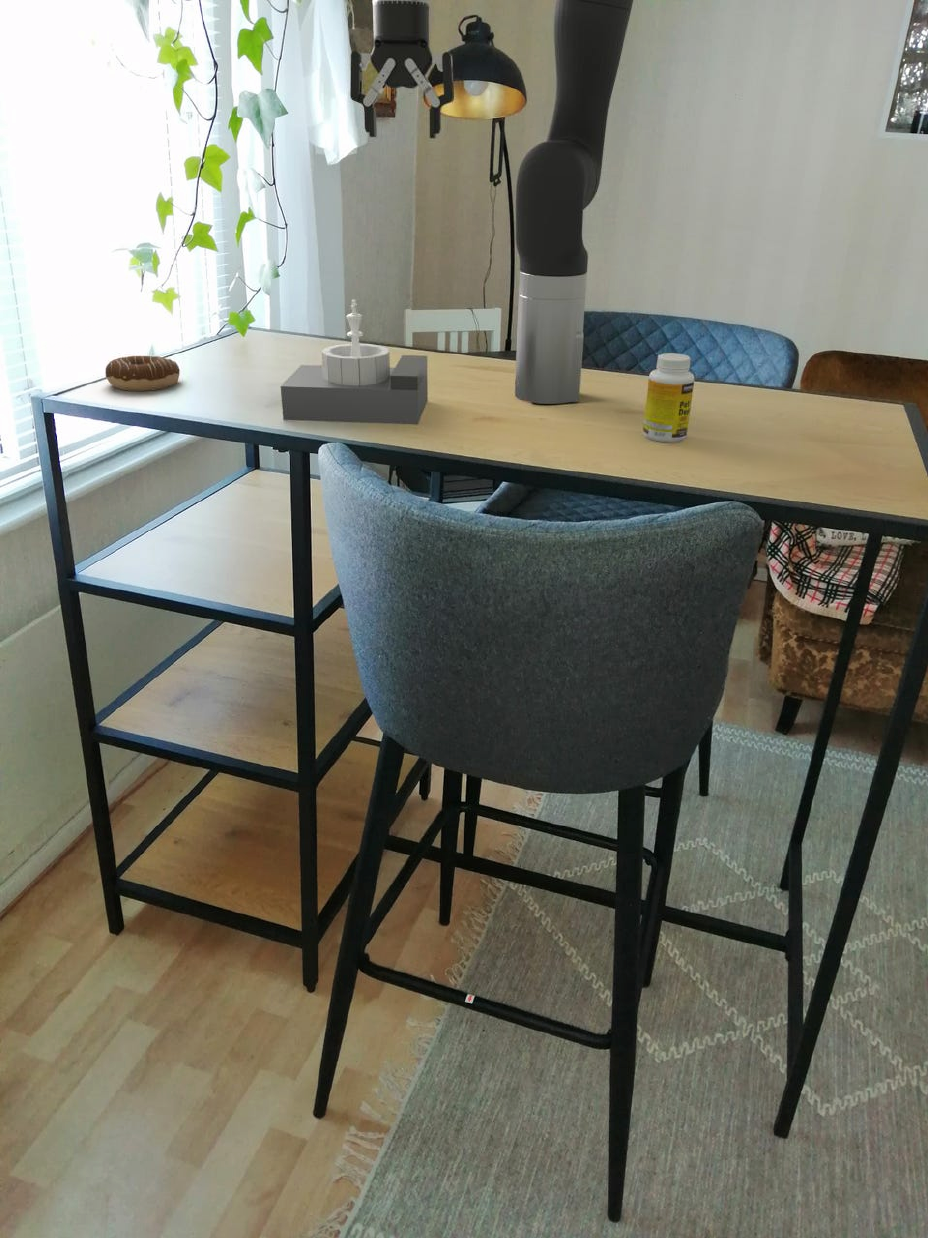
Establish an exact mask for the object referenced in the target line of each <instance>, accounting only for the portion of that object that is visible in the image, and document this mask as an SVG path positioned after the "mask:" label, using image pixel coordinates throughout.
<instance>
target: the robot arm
mask: <svg viewBox="0 0 928 1238" xmlns="http://www.w3.org/2000/svg"><path fill="white" fill-rule="evenodd" d="M633 3H634V0H555V5H554V14H553V42H554V44H553V45H554V61H555V73H556V75H555V77H556V83H555V84H556V85H555V86H556V88H555V89H556V90H555V100H554V104H553V105H554V106H553V112H552V117H551V122H550V125H549V129H548V134H547V138H546V141H543V142H541V143H539V144H536V145H534V146H533V147H532V148H531V149H530V150H528V152H527V153H525V155H524V157H523V159H522V161H521V162H520V166H519V169H518V173H517V178H516V186H515V187H516V189H515V245H516V249H517V253H518V256H519V281H518V283H519V284H518V306H517V307H518V309H517V330H516V331H517V332H516V334H517V335H516V354H515V356H516V357H515V360H516V361H515V379H514V382H515V383H514V387H515V388H514V396H515V397H516V398H517V399H519V400H521V401H524V402H529V403H534V404H542V405H554V404H555V405H556V404H557V405H558V404H566V403H579V401H580V392H581V391H580V389H581V378H582V375H581V374H582V362H583V349H584V331H583V330H584V319H585V318H584V317H585V302H586V289H587V288H586V287H587V276H588V275H587V274H588V273H587V272H588V261H589V254H588V251H587V249H586V247H585V245H584V241H583V240H584V239H583V220H584V214H583V213H584V210H585V209H587V207H588V206H589V205H590V204H591V203H592V201H593V199H594V198H595V196H596V194H597V192H598V189H599V187H600V182H601V176H602V168H603V159H604V158H603V157H604V150H605V142H606V141H605V139H606V129H607V122H608V116H609V115H608V114H609V110H610V109H609V108H610V104H611V103H610V102H611V97H612V94H613V90H614V87H615V86H614V85H615V81H616V78H617V75H618V69H619V66H620V62H621V56H622V52H623V48H624V43H625V38H626V34H627V31H628V25H629V21H630V18H631V13H632V9H633ZM372 15H373V16H372V19H373V20H372V21H373V23H372V25H373V48H372V51H371V53H368V52H360V51H357V50H352V52H351V53H350V81H349V82H350V87H349V88H350V95H349V96H350V99H351V100H352V101H353V102H355V103H358V104H360V105H362V106H363V114H364V130H365V132H366V133H368V134H369V138H377V133H378V131H377V108H376V107H375V104H376V103H377V101H378V99H379V97H380V95H382V93H383V92H384V90H385V89H386V88H387V87H388V88H391V89H400V88H406V89H415V88H418V87H419V89H420V90H421V91H422V93H423V94H424V96H425V97H426V99H427V100H428V102H429V103H430V108H429V139H434V140H435V139H437V135H438V134H439V135H440V133H441V129H442V127H441V126H442V125H441V124H442V122H441V121H442V118H441V117H442V114H441V113H442V111H441V110H442V107H444V106H445V105H447V104H450V103H453V102H454V100H455V91H454V90H455V87H454V69H453V68H454V66H453V64H454V63H453V56H452V54H451V53H450V52H448V51H445V52H443V53H432V51H431V48H430V0H372ZM369 63H371V64H372V66H373V68H374V70H375V71H376V73H377V74H378V75H377V76H376V78H375V80H374V81H373V83H372V84H371V86H370V88H369V90H368V92H367V93H366V94H365V93H363V71H366V70H367V69H368V64H369ZM433 64H435V65H436V67H437V70H438V71H440V73H441V72H442V81H443V84H442V85H443V86H442V87H443V94H441V95H438V93H437V92H436V91H435V89H434V87H433V86H432V84H431V83H430V81H429V79H428V78H427V76H426V75H427V73H428V72H429V70H430V68H431V67H432V65H433Z"/></svg>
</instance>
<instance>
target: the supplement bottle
mask: <svg viewBox="0 0 928 1238" xmlns="http://www.w3.org/2000/svg"><path fill="white" fill-rule="evenodd" d="M690 368H691V357H690V355H688V354H682V353H677V352H676V353H675V352H673V353H672V352H671V353H669V352H667V353H661V354H658V356H657V361H656V369H653V370H652V371H650V373H649V376H648V383H647V391H646V392H647V393H646V403H645V412H644V420H643V427H642V428H643V429H642V430H643V433H642V434H643V435H644V437H646V438H647V439H649V440H651V441H654V442H658V443H678V442H681V441H683V440H685V439H686V437H687V435H688V429H689V423H690V415H691V409H692V408H691V406H692V400H693V393H694V386H695V385H694V384H695V375H694V374H693V372H691V371H690Z"/></svg>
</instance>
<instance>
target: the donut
mask: <svg viewBox="0 0 928 1238" xmlns="http://www.w3.org/2000/svg"><path fill="white" fill-rule="evenodd" d="M180 373H181V372H180V368H179V365H178V363H177V362H176V361H174V360H173V359H171V358H166V357H162V356H157V355H156V356H155V355H154V356H151V355H130V356H129V355H127V356H122V357H118V358H115V359H112V360H111V361H109V363H107V365H106V367H105V377H106V379H107V381H108V383H109V384H110V385H112V386H113V387H114V388H116V389H119V390H123V391H129V392H130V391H131V392H147V391H158V390H163V389H166V388H169V387H171V386H172V385H175V384H176V383H177V381H178V379H180Z"/></svg>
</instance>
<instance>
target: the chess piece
mask: <svg viewBox="0 0 928 1238" xmlns="http://www.w3.org/2000/svg"><path fill="white" fill-rule="evenodd" d="M357 306H358V304H357V301H356V299H351V305H350V310H351V313H349V314H346V319H347V321H348V326H349V328H350V331H348V332H347V333H346V336H347V337H350V338H351V341H350V344H351V356H350V357H361V351H360V345H359V344H360V337H362V336H364V334H363V332H362V331H360V330H359V329H360V327H361V322H362V319H363V315H362V314H360V313H358V312H357V308H358V307H357Z"/></svg>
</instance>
